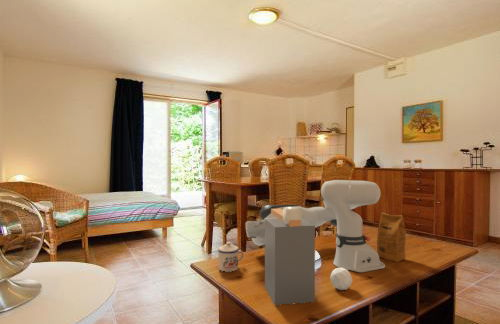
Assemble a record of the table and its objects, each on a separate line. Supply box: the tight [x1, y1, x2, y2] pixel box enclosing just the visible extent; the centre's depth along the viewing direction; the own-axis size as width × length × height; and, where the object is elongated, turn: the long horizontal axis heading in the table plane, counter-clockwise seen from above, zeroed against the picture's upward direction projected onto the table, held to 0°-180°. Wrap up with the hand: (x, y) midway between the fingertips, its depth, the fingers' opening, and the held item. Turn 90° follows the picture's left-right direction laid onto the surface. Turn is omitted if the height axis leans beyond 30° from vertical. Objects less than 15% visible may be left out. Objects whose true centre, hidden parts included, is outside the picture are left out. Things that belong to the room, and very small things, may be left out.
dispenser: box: [264, 218, 316, 306], centre depth 104 cm, size 14×15×26 cm
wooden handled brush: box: [271, 207, 302, 227], centre depth 108 cm, size 5×24×6 cm, turn 11°
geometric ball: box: [329, 267, 353, 291], centre depth 108 cm, size 8×8×8 cm
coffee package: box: [376, 212, 407, 263], centre depth 142 cm, size 10×12×22 cm
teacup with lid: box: [217, 241, 245, 273], centre depth 129 cm, size 12×9×12 cm
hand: (270, 220), depth 126 cm, fingers open, 8 cm apart
